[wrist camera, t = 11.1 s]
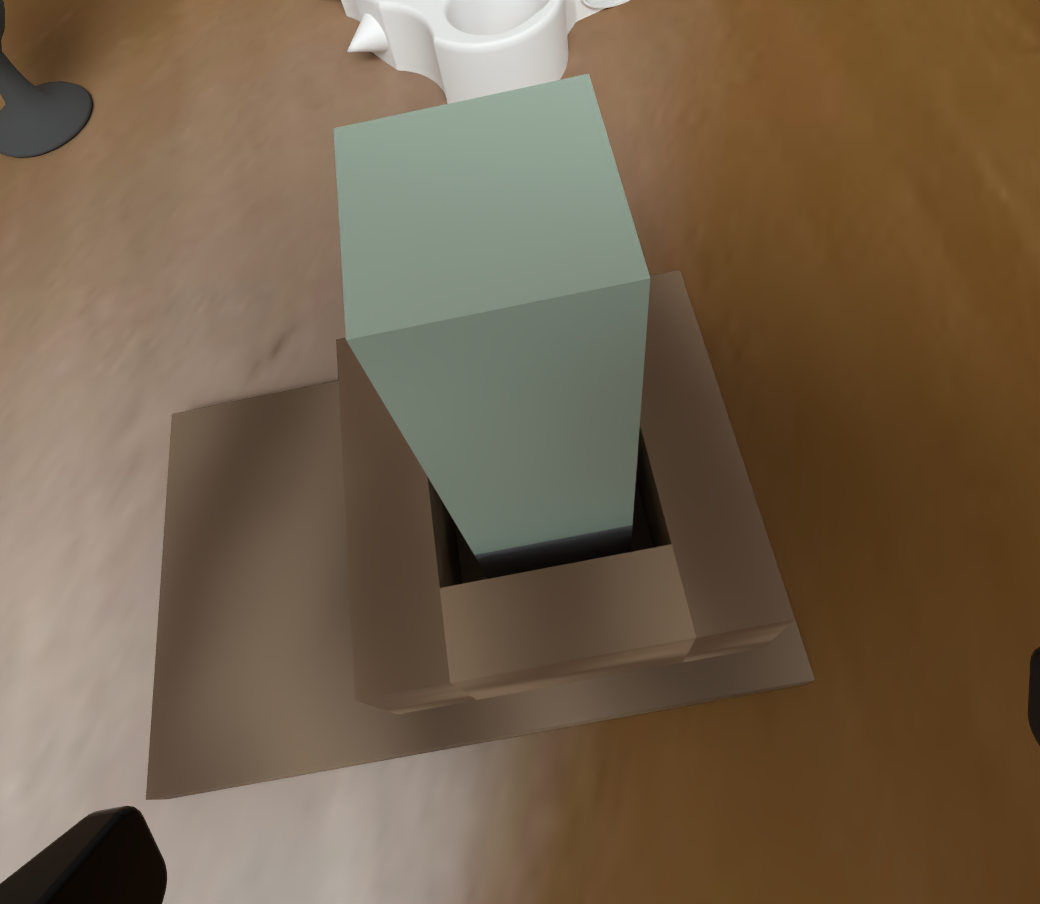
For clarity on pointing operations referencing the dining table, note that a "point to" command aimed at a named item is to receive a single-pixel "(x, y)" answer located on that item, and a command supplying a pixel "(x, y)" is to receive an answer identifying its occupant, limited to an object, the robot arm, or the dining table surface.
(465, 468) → the sage green square pillar
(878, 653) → the dining table surface
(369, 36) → the white brass knuckles
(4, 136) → the sundae
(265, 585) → the wooden socket base
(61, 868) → the robot arm
